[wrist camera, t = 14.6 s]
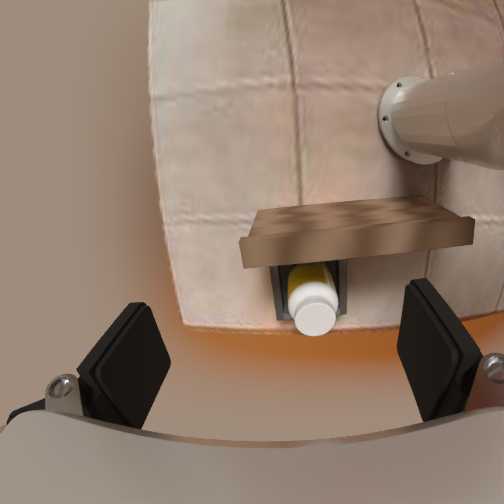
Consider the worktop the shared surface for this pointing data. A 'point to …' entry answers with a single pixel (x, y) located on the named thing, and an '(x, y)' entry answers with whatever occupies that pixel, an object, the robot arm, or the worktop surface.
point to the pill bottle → (312, 298)
